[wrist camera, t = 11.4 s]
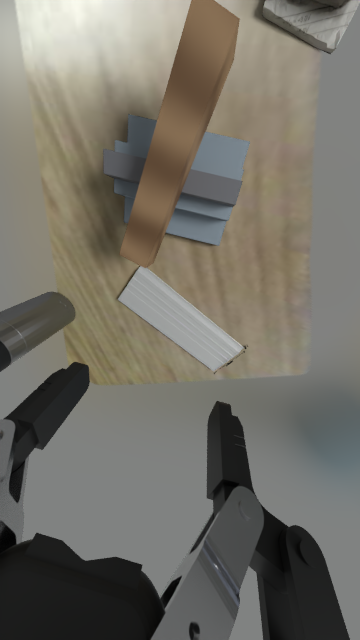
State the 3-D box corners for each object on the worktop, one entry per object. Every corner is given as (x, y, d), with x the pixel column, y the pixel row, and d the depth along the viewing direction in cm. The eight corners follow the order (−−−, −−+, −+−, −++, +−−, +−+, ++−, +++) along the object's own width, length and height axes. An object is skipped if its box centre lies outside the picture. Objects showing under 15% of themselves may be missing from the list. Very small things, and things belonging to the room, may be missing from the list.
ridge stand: (218, 244, 34) (221, 250, 26) (128, 222, 34) (104, 221, 26) (247, 147, 27) (262, 114, 19) (133, 121, 27) (102, 79, 19)
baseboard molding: (146, 257, 37) (120, 297, 43) (142, 260, 35) (115, 301, 40) (247, 342, 44) (213, 367, 49) (250, 349, 41) (213, 375, 46)
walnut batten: (153, 263, 28) (145, 268, 25) (130, 250, 28) (119, 254, 24) (233, 59, 17) (239, 18, 14) (198, 35, 17) (195, -13, 14)
